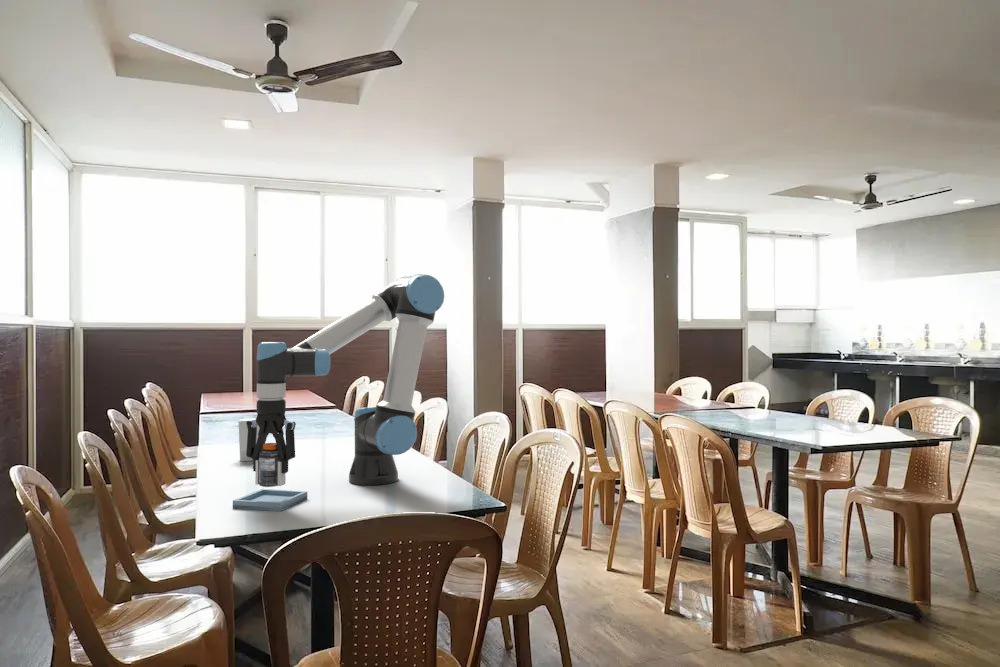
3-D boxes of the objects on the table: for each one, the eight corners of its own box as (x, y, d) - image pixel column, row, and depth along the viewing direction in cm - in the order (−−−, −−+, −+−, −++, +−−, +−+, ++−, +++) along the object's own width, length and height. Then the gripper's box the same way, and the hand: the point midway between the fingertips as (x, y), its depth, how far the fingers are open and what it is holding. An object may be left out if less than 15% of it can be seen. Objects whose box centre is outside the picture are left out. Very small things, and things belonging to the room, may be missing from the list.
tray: (307, 498, 197) (307, 491, 197) (280, 511, 183) (280, 503, 183) (262, 495, 200) (262, 488, 200) (232, 508, 187) (232, 500, 187)
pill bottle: (273, 481, 196) (274, 440, 196) (286, 484, 192) (287, 443, 192) (254, 485, 191) (255, 443, 191) (266, 488, 188) (267, 445, 187)
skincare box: (264, 457, 260) (264, 417, 260) (263, 460, 254) (263, 419, 254) (240, 458, 258) (240, 417, 258) (238, 461, 252) (238, 420, 252)
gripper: (309, 398, 193) (309, 483, 193) (248, 396, 197) (247, 479, 198) (295, 401, 186) (295, 489, 186) (231, 399, 190) (231, 485, 190)
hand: (270, 484), depth 192 cm, fingers closed on pill bottle, 6 cm apart
